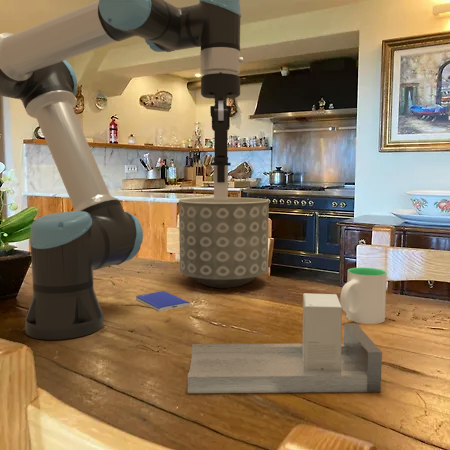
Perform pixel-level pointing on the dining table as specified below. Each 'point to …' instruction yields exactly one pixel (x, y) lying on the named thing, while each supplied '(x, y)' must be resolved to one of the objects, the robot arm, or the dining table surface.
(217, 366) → the tray
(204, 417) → the dining table surface
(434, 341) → the dining table surface
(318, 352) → the small box
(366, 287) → the mug
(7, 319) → the dining table surface
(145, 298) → the hard drive
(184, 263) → the planter
